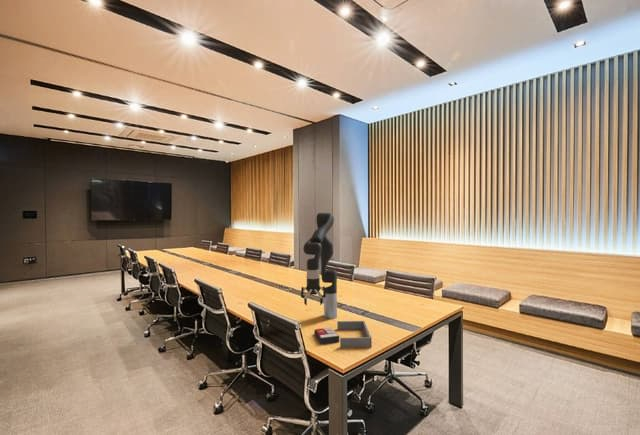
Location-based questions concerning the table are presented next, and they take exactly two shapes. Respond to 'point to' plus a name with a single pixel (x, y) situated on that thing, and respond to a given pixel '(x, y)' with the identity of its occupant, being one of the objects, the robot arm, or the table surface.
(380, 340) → the table surface
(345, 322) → the box
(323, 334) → the calculator
